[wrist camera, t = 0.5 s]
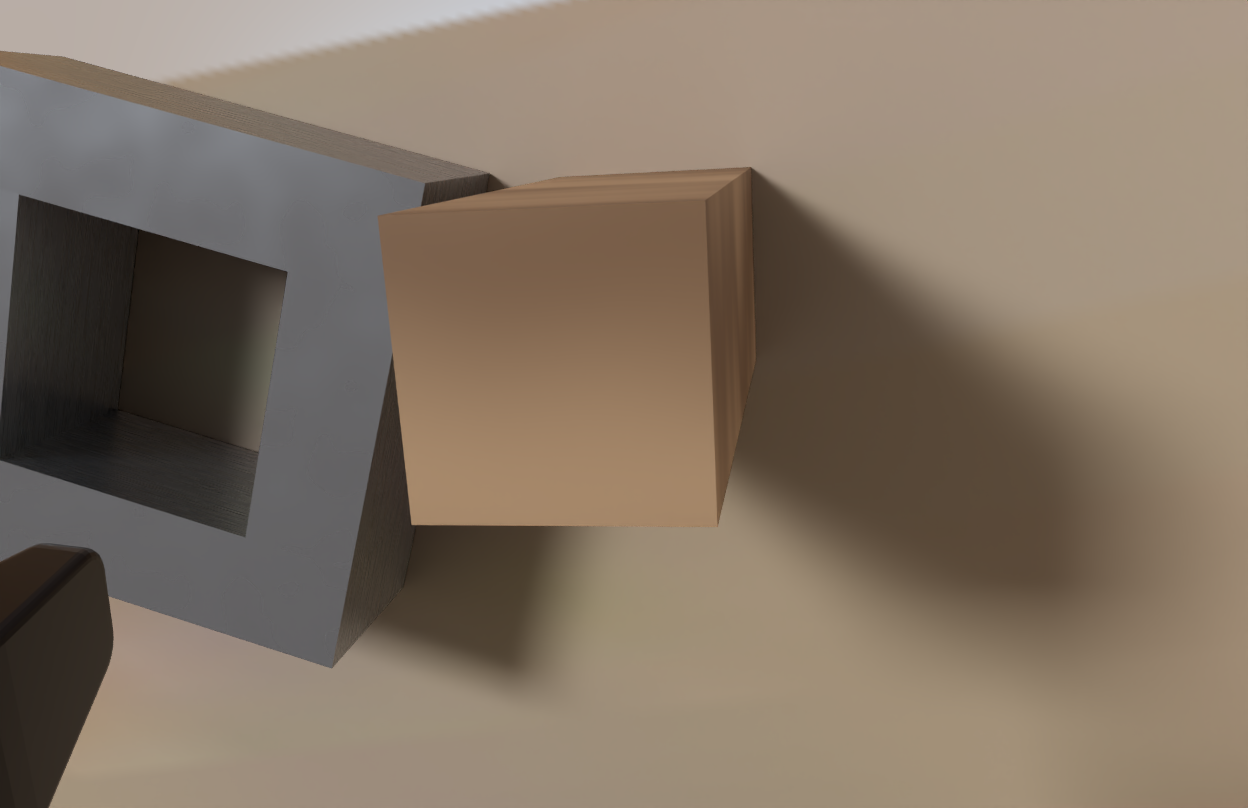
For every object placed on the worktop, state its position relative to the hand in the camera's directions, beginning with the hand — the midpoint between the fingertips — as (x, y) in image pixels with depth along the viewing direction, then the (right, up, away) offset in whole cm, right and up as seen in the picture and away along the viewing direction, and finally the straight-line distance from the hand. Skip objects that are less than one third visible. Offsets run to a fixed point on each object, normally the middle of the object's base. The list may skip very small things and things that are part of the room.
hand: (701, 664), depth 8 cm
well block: (-9, +4, +17) cm, 19 cm away
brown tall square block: (0, +5, +15) cm, 15 cm away
